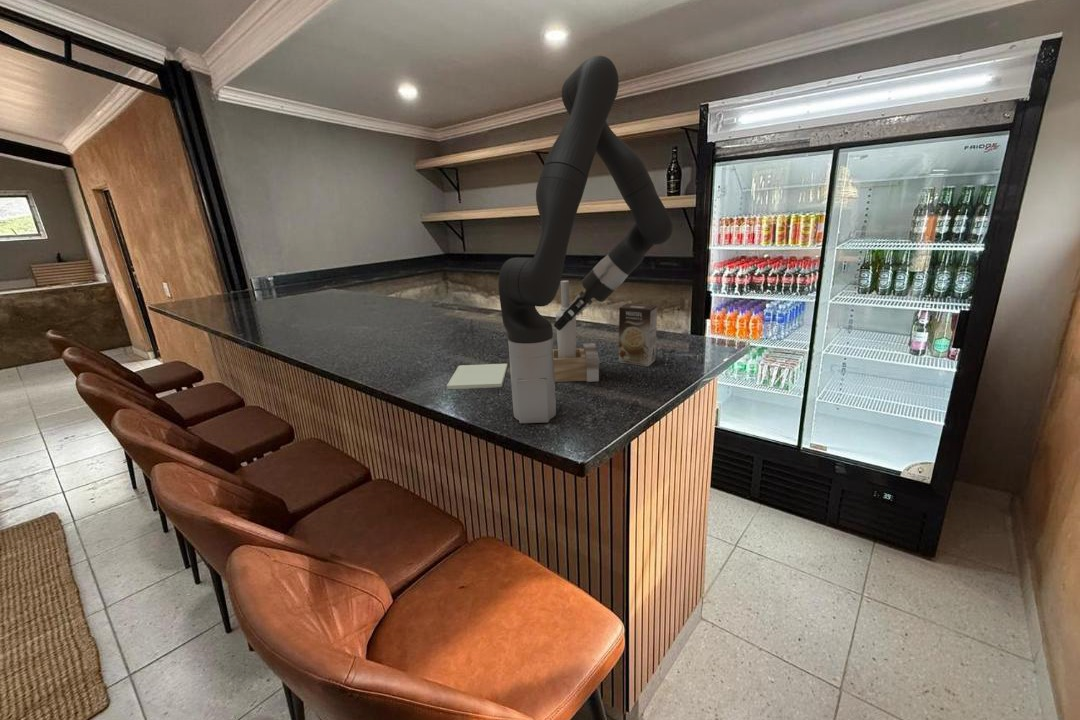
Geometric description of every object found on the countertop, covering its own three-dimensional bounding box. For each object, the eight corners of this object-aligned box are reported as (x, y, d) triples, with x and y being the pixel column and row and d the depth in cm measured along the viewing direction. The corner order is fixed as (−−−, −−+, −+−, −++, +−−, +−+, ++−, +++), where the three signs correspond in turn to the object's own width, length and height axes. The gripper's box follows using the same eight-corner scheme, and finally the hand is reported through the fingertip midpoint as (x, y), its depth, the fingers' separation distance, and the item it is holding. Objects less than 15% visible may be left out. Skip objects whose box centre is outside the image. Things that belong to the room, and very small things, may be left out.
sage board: (501, 387, 114) (501, 383, 113) (447, 389, 114) (446, 385, 114) (507, 366, 129) (507, 363, 129) (459, 368, 129) (458, 365, 129)
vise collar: (598, 381, 114) (598, 355, 112) (538, 383, 115) (537, 357, 113) (594, 365, 126) (593, 341, 124) (539, 367, 127) (538, 343, 125)
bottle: (571, 379, 116) (568, 283, 109) (554, 376, 119) (550, 282, 111) (580, 373, 120) (578, 280, 113) (564, 370, 123) (560, 279, 115)
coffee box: (617, 362, 127) (617, 307, 123) (625, 356, 133) (626, 302, 128) (648, 367, 123) (650, 309, 118) (656, 360, 128) (658, 304, 123)
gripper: (598, 263, 115) (556, 308, 122) (588, 271, 102) (542, 320, 109) (619, 284, 116) (576, 327, 123) (612, 294, 103) (564, 341, 109)
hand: (560, 324), depth 116 cm, fingers open, 7 cm apart
